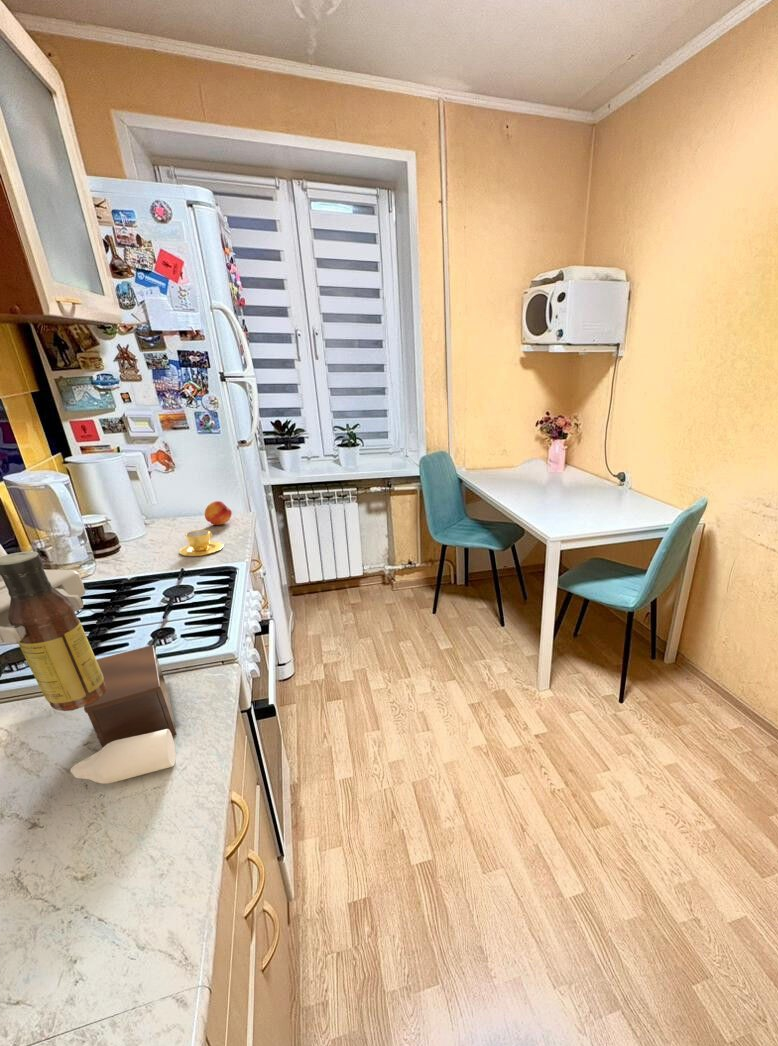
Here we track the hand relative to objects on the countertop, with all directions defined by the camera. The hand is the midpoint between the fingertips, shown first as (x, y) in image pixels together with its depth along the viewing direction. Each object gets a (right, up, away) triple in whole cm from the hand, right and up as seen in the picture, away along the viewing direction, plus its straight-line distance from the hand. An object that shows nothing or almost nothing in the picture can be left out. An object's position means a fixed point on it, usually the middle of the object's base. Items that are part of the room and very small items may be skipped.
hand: (50, 618), depth 61 cm
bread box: (-5, -18, +24) cm, 30 cm away
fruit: (-39, +27, +118) cm, 127 cm away
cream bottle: (0, -23, +14) cm, 27 cm away
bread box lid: (-5, -10, +19) cm, 22 cm away
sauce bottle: (-1, -11, +5) cm, 12 cm away
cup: (-34, +16, +95) cm, 102 cm away
